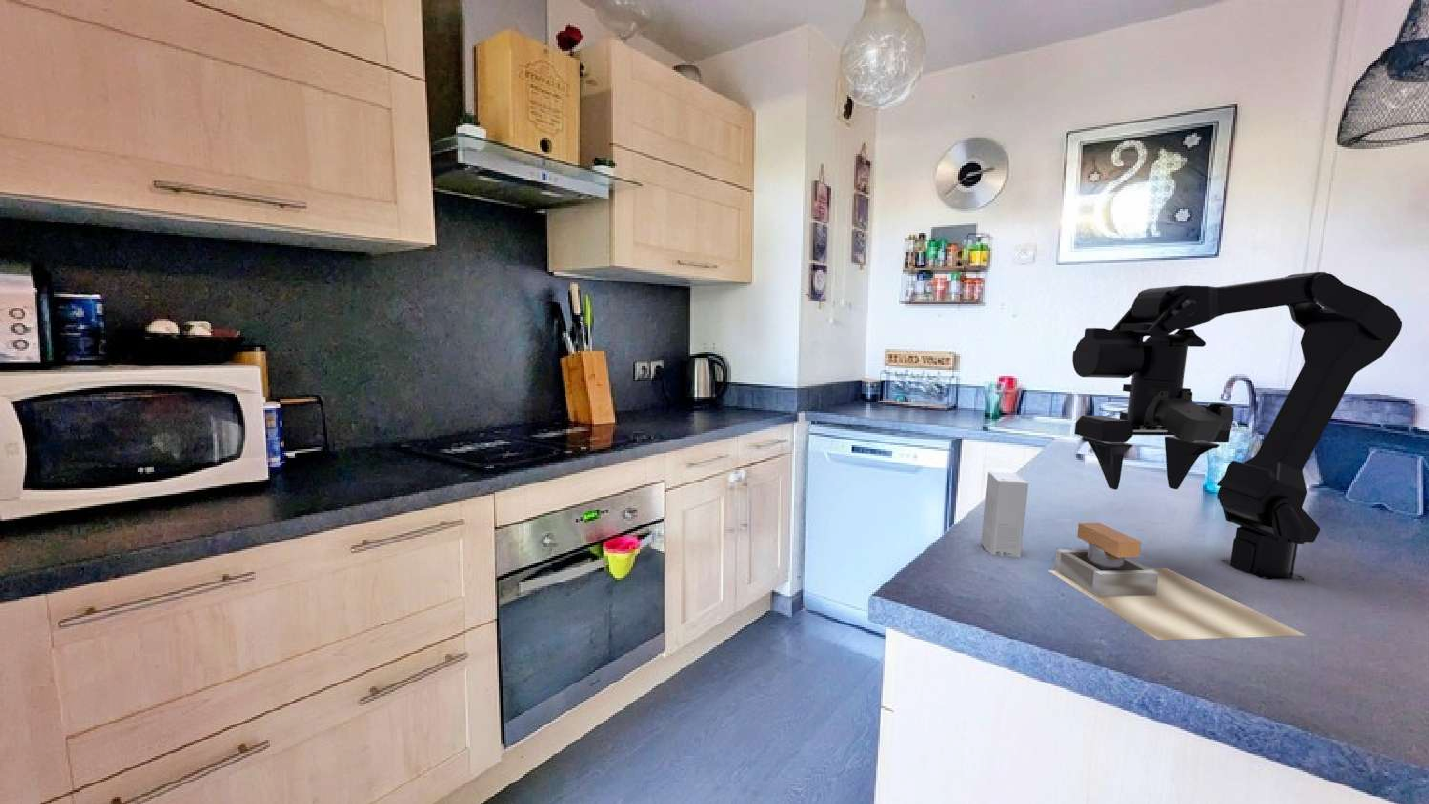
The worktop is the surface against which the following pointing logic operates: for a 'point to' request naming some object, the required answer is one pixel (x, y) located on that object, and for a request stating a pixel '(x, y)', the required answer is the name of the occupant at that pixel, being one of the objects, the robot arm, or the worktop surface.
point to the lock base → (1164, 601)
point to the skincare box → (1004, 514)
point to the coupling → (1107, 546)
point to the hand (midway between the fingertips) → (1143, 488)
